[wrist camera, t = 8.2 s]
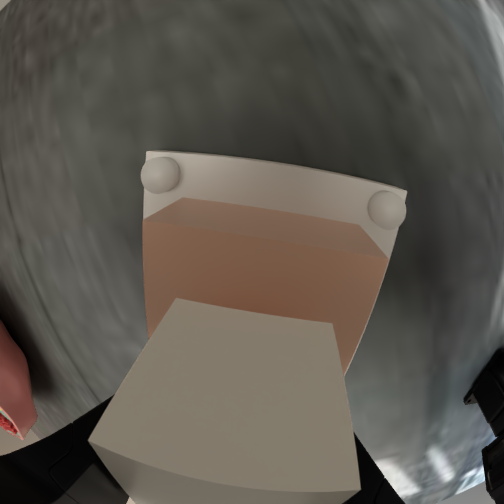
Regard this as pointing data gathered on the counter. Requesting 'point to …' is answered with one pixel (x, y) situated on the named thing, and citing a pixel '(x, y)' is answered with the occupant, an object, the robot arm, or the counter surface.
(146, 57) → the counter surface
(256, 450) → the cream brick
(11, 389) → the cell model
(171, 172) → the base plate
